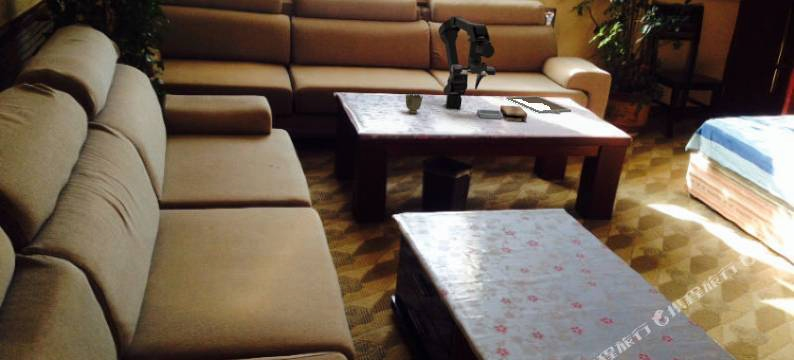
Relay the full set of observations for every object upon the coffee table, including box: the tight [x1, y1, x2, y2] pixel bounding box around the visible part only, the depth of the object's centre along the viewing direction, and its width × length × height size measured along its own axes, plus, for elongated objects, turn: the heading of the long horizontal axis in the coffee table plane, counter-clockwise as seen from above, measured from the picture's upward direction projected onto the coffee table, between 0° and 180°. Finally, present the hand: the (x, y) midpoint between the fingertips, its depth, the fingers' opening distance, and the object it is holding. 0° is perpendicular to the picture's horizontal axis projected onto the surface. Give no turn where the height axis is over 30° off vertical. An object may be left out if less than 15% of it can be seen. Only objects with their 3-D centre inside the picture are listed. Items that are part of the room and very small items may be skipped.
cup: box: [405, 93, 424, 115], centre depth 285 cm, size 8×7×8 cm
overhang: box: [499, 105, 528, 123], centre depth 291 cm, size 9×13×4 cm
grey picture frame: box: [505, 95, 572, 115], centre depth 316 cm, size 19×2×30 cm
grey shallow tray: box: [476, 108, 504, 120], centre depth 290 cm, size 10×8×2 cm
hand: (471, 89), depth 285 cm, fingers open, 4 cm apart
